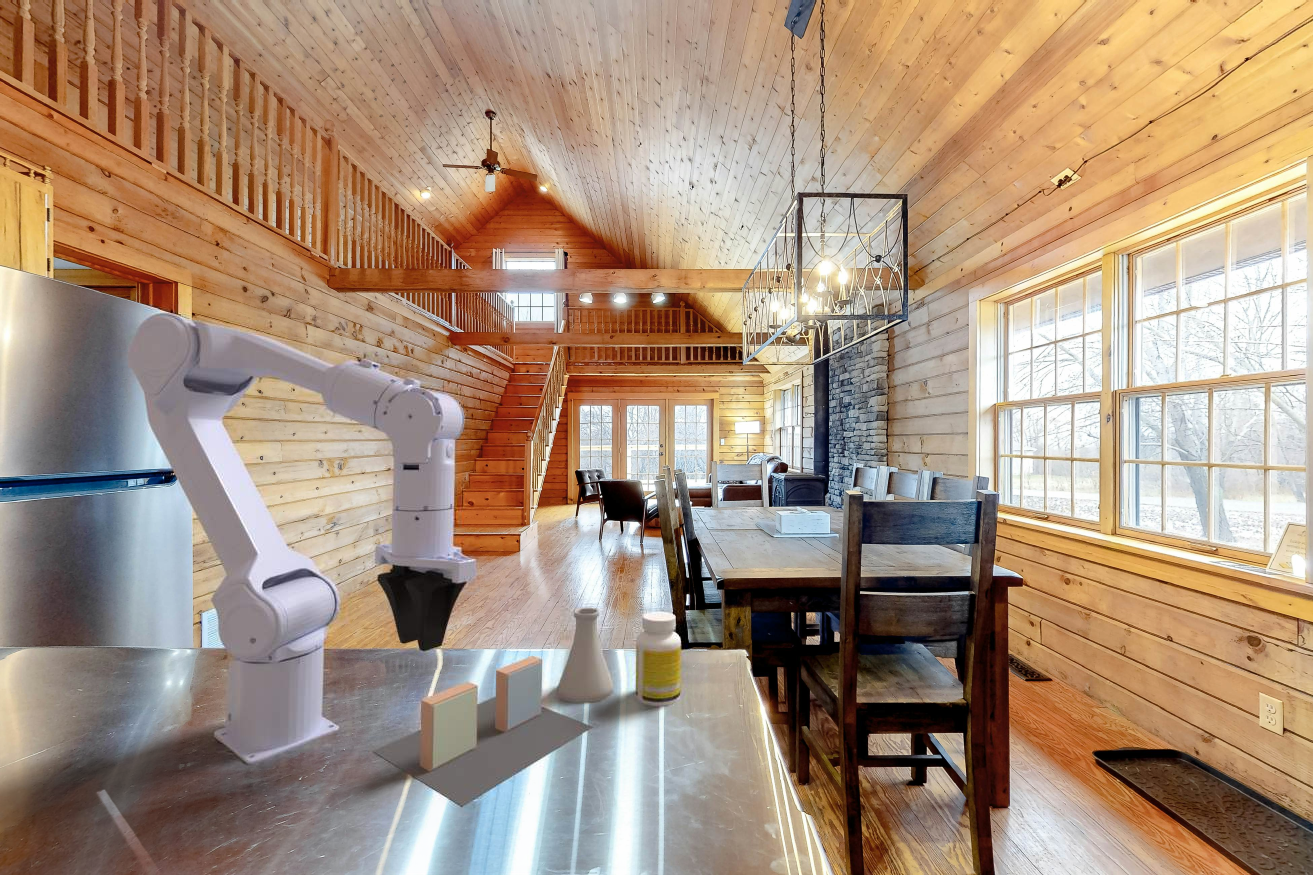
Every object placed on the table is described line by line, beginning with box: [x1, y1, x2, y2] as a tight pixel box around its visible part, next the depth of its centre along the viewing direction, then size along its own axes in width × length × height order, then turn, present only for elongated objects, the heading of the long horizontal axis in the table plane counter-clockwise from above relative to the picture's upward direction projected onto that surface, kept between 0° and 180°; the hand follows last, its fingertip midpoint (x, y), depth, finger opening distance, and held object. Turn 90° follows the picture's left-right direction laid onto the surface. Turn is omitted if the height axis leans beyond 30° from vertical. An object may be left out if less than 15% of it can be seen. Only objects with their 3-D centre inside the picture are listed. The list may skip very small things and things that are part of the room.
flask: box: [556, 606, 615, 704], centre depth 67 cm, size 7×7×10 cm
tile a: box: [420, 681, 479, 772], centre depth 52 cm, size 2×5×6 cm, turn 145°
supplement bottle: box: [635, 611, 682, 707], centre depth 66 cm, size 5×5×10 cm
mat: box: [372, 695, 594, 807], centre depth 55 cm, size 14×16×1 cm
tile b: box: [495, 655, 543, 733], centre depth 59 cm, size 2×5×6 cm, turn 145°
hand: (420, 644), depth 55 cm, fingers open, 3 cm apart
